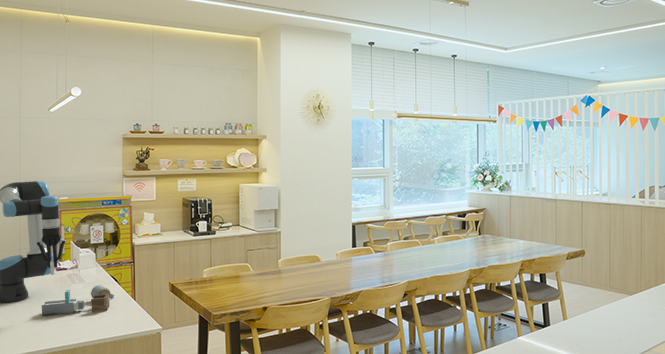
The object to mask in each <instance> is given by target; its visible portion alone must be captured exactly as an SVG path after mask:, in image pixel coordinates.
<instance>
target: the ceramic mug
mask: <svg viewBox="0 0 665 354" xmlns="http://www.w3.org/2000/svg"><path fill="white" fill-rule="evenodd" d="M102 294H109V299H114V297H115V294H112V293H111V291H110V289H109V288H107V287H105V286H103V285H101V284H99V285H95V286H94V287H93V288H91V291H90V295H91V299H94V295H102Z"/></svg>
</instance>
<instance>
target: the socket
mask: <svg viewBox="0 0 665 354" xmlns="http://www.w3.org/2000/svg"><path fill="white" fill-rule="evenodd" d="M90 302H91V305H90V306H91V313H99V312H107V311H108V310H109V307H110V297H109V294H102V295H94V299H93V298H91V301H90Z"/></svg>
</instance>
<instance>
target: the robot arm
mask: <svg viewBox="0 0 665 354" xmlns="http://www.w3.org/2000/svg"><path fill="white" fill-rule="evenodd" d="M0 203H1V204H2V214H3V216H4V217H5V218H15V217H23V216H25V217H27V228H28V229H27V230H28V231H27V232H28V233H27V234H28V246H29V250H28V252H26V257H24V256H23V255H21V254H18V255H12V256H7V257H5V258H2V259H0V304H9V303H15V302H20V301H23V300H26V299H27V298H29V291H28V288H27V286H26V284H25V279H29V278H35V277H42V276H49V275H52V276H53V275H55V274H56V268H57V267H58V261H59V260H62V256H63V252H64V247H65V244H66V243H67V240H66V239H63V238H62V236H61V230H60V229H61V227H60V216H59V215H60V213H59V210H60V209H59V208H60V207H59V203H60V202H59V198H58V196H55V195H50V190H49V187H48V184H47V183H46V182H45V181H42V180H41V181H39V180H38V181H37V180H36V181H35V180H33V181H19V182H18V181H16V182H15V181H14V182H11V183H7V184H5V185H4V186H2V187H1V188H0ZM59 243H60V246H59V251H58V248H57V247H58V244H59Z"/></svg>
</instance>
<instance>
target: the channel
mask: <svg viewBox="0 0 665 354" xmlns="http://www.w3.org/2000/svg"><path fill="white" fill-rule="evenodd" d="M70 299H71V302H70V303H61V302H65V299H60V300H51V301H45V302H44V304H48V305H44V304H41V317H51V316H62V315H70V314H71V315H72V314H74V313H75V312H76V311H77V310H74V303H73V302H72V301H77V298H74V299H72V298H70ZM50 303H59V304H50Z"/></svg>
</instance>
